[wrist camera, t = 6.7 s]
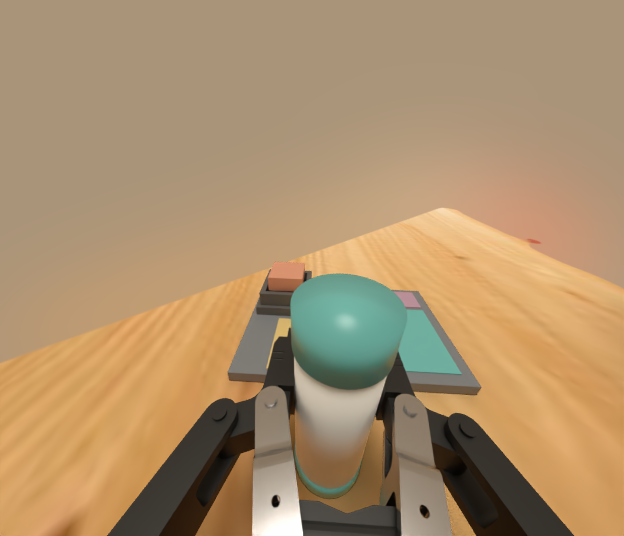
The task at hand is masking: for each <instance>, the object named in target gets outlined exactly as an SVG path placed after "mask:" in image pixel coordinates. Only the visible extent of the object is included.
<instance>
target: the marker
mask: <svg viewBox="0 0 624 536" xmlns="http://www.w3.org/2000/svg"><path fill="white" fill-rule="evenodd" d="M290 305H291V345H292V351H293V355H294V375H295V464H296V469H297V472H298V474H299V477H300V479H301V481H302V482H303V484H304V485H305V486H306V487H307V489H308V490H309V491H311V492H312V493H313V494H315V495H317V496H319V497H322V498H326V499H333V498H338V497H340V496H342V495H344V494H345V493H347V492H348V491H349V490H350V489H351V488H352V486H353V485H354V483H355V481H356V479H357V476H358V473H359V470H360V467H361V463H362V457H363V453H364V450H365V447H366V444H367V440H368V437H369V434H370V430H371V427H372V424H373V421H374V417H375V414H376V411H377V407H378V404H379V401H380V398H381V394H382V391H383V388H384V384H385V381H386V378H387V375H388V374H389V372H390V371H391V369H392V367H393V365H394V362H395V359H396V355H397V352H398V349H399V346H400V343H401V339H402V336H403V333H404V330H405V327H406V323H407V311H406V308H405V305H404V304H403V302H402V301H401V299H400V298H399V297H398V296H397V295H396V294H395V293H394V292H393V291H391V290H390V289H389V288H387V287H386V286H384V285H382V284H380V283H378V282H376V281H374V280H371V279H368V278H365V277H361V276H357V275H351V274H327V275H321V276H317V277H314V278H312V279H309V280H307V281H305V282H304V283H302V284H301V285H300V286H299V287H298V288H297V289H296V290H295V291H294V293H293V295H292V298H291V304H290Z"/></svg>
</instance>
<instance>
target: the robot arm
mask: <svg viewBox="0 0 624 536" xmlns="http://www.w3.org/2000/svg"><path fill="white" fill-rule="evenodd" d="M290 414H293V415H295V375H294V355H293V351H292V345H291V328H289V330H288V335H287V337H283V336H279V337H278V339H277V340H276V341H275V343H274V346H273V350H272V354H271V358H270V362H269V366H268V370H267V374H266V378H265V382H264V385H263V388H262V390H261V391H260V392H259V393H258V394H257V395H256V396H255V397H253V398H251V399H249V400H246V401H242V402H239V403H234V401H232V400H231V399H227V398H223V399H219V400H217V401H215V402H213V403H212V404H211V405H210V406H209V407H208V408H207V409H206V410H205V412H204V413H203V414H202V415H201V417H200V418H199V419H198V420H197V422H196V423H195V424H194V426H193V427H192V428H191V429H190V431H189V432H188V433H187V435H186V436H185V437H184V438H183V440H182V441H181V442H180V443H179V445H178V446H177V447H176V449H175V450H174V451H173V452H172V454H171V455H170V456H169V457H168V459H167V460H166V461H165V463H164V464H163V465H162V466H161V468H160V469H159V470H158V472H157V473H156V474H155V475H154V477H153V478H152V479H151V480H150V482H149V483H148V484H147V486H146V487H145V488H144V489H143V491H142V492H141V493H140V494H139V496H138V497H137V498H136V500H135V501H134V502H133V503H132V505H131V506H130V507H129V509H128V510H127V511H126V512H125V514H124V515H123V516H122V517H121V519H120V520H119V521H118V523H117V524H116V525H115V526H114V528H113V529H112V530H111V532H110V533H109V534H108V535H107V536H195V535H196V533H197V531H198V529H199V528H200V526H201V524H202V522H203V520H204V519H205V517H206V515H207V513H208V511H209V510H210V508H211V506H212V504H213V502H214V501H215V499H216V497H217V495H218V493H219V492H220V490H221V488H222V486H223V484H224V483H225V481H226V479H227V477H228V475H229V474H230V472H231V470H232V468H233V466H234V465H235V463H236V461H237V459H238V458H239V456H240V454H241V453H244V452H247V451H250V450H252V449H255V456H254V460H253V523H252V536H452V532H451V525H450V519H449V513H448V507H447V501H446V495H445V489H444V483H445V485H446V487H447V488H448V490H449V492H450V493H451V495H452V497H453V498H454V500H455V501H456V503H457V505H458V506H459V508H460V510H461V511H462V513H463V515H464V516H465V518H466V519H467V521H468V523H469V524H470V526H471V528H472V529H473V531H474V533H475V534H476V536H574V535H573V534H572V533H571V531H570V530H569V529H568V528H567V527H566V526H565V524H564V523H563V522H562V521H561V520H560V519H559V517H558V516H557V515H556V514H555V513H554V512H553V510H552V509H551V508H550V507H549V506H548V505H547V503H546V502H545V501H544V500H543V499H542V498H541V497H540V495H539V494H538V493H537V492H536V491H535V490H534V488H533V487H532V486H531V485H530V484H529V483H528V481H527V480H526V479H525V478H524V477H523V476H522V474H521V473H520V472H519V471H518V470H517V469H516V467H515V466H514V465H513V464H512V463H511V462H510V461H509V459H508V458H507V457H506V456H505V455H504V454H503V452H502V451H501V450H500V449H499V448H498V447H497V445H496V444H495V443H494V442H493V441H492V440H491V438H490V437H489V436H488V435H487V434H486V433H485V431H484V430H483V429H482V428H481V427H480V426H479V425H478V424H477V423H476V422H475V421H474V420H473V419H472V418H470V417H468V416H466V415H464V414H461V413H454V414H452V415H450V417H446V416H444V415H441V414H438V413H436V412H433V411H431V410H429V409H427V408H426V407H425V406H424V405H423V404H422V402H421V401H420V400H419V399H417V398H416V396H415V394H414V392H413V389H412V387H411V384H410V381H409V379H408V376H407V373H406V370H405V368H404V365H403V362H402V360H401V357H400V354H399V352H397V355H396V359H395V362H394V365H393V367H392V369H391V371H390V372H389V374H388V375H387V378H386V381H385V384H384V388H383V391H382V394H381V398H380V401H379V404H378V407H377V411H376V414H375V415H376V420H383V423H384V427H385V429H384V432H383V467H382V486H381V492H380V502H379V505H372V506H369V507H366V508H363V509H360V510H357V511H354V512H351V513H344V512H342V511H339V510H337V509H335V508H333V507H330V506H328V505H326V504H324V503H322V502H319V501H308V500H299V498H298V490H297V481H296V473H295V464H294V456H293V449H292V444H291V436H290V427H289V419H290ZM443 482H444V483H443Z"/></svg>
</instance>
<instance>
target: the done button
mask: <svg viewBox="0 0 624 536" xmlns="http://www.w3.org/2000/svg"><path fill="white" fill-rule="evenodd" d="M304 276H305V263H290V262H274V264H273V266H272V269H271V271H270V274H269V276H268V287H269V290H272V291H293V292H294V291H295V290H296V289H297V288H298V287H299V286H300V285H301V284H302V283H304Z"/></svg>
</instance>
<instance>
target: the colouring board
mask: <svg viewBox="0 0 624 536" xmlns="http://www.w3.org/2000/svg"><path fill="white" fill-rule="evenodd" d="M270 271H271V269H270V270H269V273H268V275H267V277H266V280H265V282H264V284H263V287H262V289H261V291H260V293H259V294H260V297H259V300H258V302H257V304H256V307H255V309H254V311H253V314H252V316H251V318H250V321H249V323H248V326H247V328H246V330H245V333H244V335H243V337H242V340H241V342H240V344H239V347H238V349H237V351H236V354H235V356H234V359H233V361H232V363H231V366H230V368H229V370H228V376H229V380H233V381H250V382H265V378H266V374H267V370H268V366H269V362H270V358H271V354H272V350H273V346H274V343H275V341H276V340H277V339H278V337H279V336H283V337H287V335H288V330H289V328H291V305H290V304H291V298H292V295H293V293H294V292H293V291H272V290H269V287H268V276H269V274H270ZM311 274H312V271H305V276H304V282H305V281H307V280H309V279H311ZM391 291H393V292H394V293H395V294H396V295H397V296H398V297H399V298H400V299H401V301H402V302H403V304H404V305H405V308H406V311H407V323H406V327H405V330H404V333H403V336H402V339H401V343H400V346H399V349H398V352H399V354H400V357H401V360H402V362H403V365H404V368H405V370H406V373H407V376H408V379H409V381H410V384H411V387H412V389H413V391H419V392H436V393H453V394H470V395H477V393H478V392H479V390H480V389H481V386H480V384H479V383H478V381H477V380H476V378H475V377H474V375H473V374H472V372H471V371H470V369H469V368H468V366H467V365H466V363H465V361H464V360H463V358H462V357H461V355H460V354H459V352H458V351H457V349H456V348H455V346H454V345H453V343H452V342H451V340H450V339H449V337H448V336H447V334H446V333H445V331H444V330H443V328H442V327H441V325H440V324H439V322H438V321H437V319H436V318H435V316H434V315H433V313H432V312H431V310H430V309H429V307H428V305H427V304H426V302H425V301H424V299H423V298H422V296H421V295H420V293H419V292H418V291H401V290H391Z"/></svg>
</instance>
